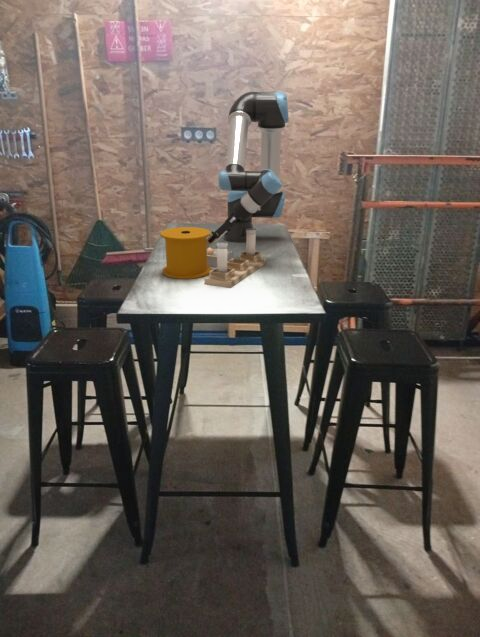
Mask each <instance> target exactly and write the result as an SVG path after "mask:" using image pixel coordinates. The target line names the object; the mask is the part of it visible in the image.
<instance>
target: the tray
mask: <svg viewBox="0 0 480 637" xmlns="http://www.w3.org/2000/svg"><path fill="white" fill-rule="evenodd" d="M213 249H214V250H216V251H217V248H213ZM232 258H234V251H233V250H228V249H227V261H229V260H231V259H232ZM207 265H208V266H209V267H213V268H214V267H215V268H217V256H211V255H207Z"/></svg>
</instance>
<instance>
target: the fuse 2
mask: <svg viewBox="0 0 480 637" xmlns="http://www.w3.org/2000/svg"><path fill="white" fill-rule="evenodd" d="M256 238H257V229H256V228H254V227H253V228H248V229H246V242H245V243H246V244H245V246H246V247H245V251H246V255H252V256H255V252H256V243H257V242H256V241H257V240H256Z"/></svg>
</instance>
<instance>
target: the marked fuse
mask: <svg viewBox="0 0 480 637" xmlns="http://www.w3.org/2000/svg"><path fill="white" fill-rule="evenodd" d="M214 249H215V248H212V247H211V246H210V247H209V248H208V249H207V255H211V256H217V251H216V250H214Z"/></svg>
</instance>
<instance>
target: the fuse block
mask: <svg viewBox="0 0 480 637" xmlns="http://www.w3.org/2000/svg"><path fill="white" fill-rule="evenodd" d="M266 262H267V259H266V258H265V257H264V258H262V252H261V251H255V256H252V255H246V250H245V251H242V252H241V253H240V254H239V257H238V258H234V257H233V258H232V259H231V260H229V261H227V273H219V272H217V267H215V268H213V269H211V271H210V272H209V274H208V275H207V276H206V277H204V285H209V284H210V285H209V286H215V285H216V286H217V287H222V288H223V287H224V288H232V287H234V286H236V285H237V284H239V283H240V282H241V281H243V280H245V278H248V276H250V275H251V274H252V273H254V272H256V271H257V270H259V269H260V268H261V267H263V266H264V265H266Z"/></svg>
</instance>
